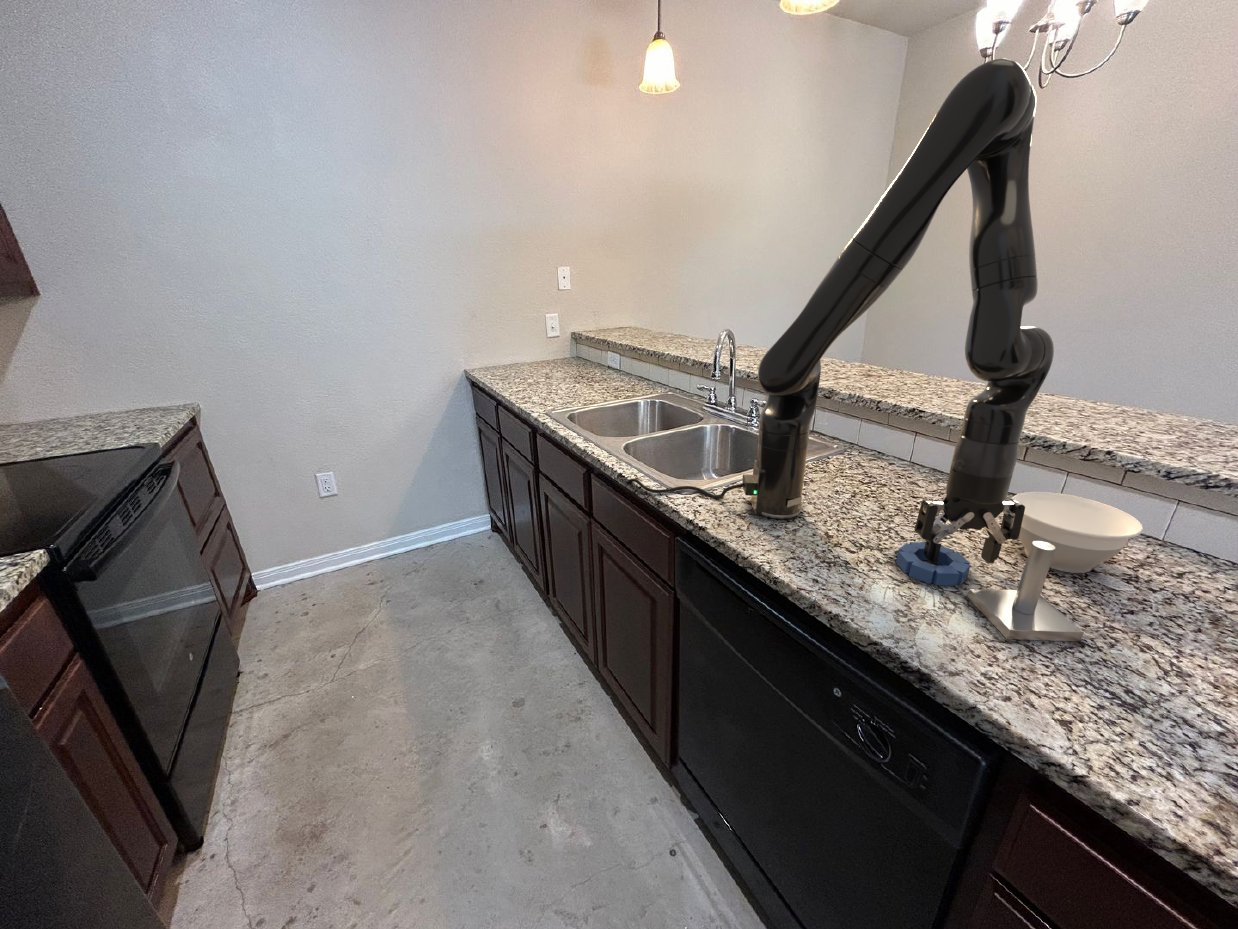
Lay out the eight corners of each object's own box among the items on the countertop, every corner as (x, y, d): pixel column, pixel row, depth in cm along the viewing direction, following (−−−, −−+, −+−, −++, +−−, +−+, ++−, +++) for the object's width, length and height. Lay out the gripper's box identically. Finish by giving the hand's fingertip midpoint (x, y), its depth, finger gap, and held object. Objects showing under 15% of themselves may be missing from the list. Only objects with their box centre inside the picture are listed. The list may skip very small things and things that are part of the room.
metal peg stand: (1006, 639, 65) (1031, 563, 61) (967, 597, 73) (986, 528, 69) (1080, 641, 64) (1110, 565, 60) (1032, 598, 72) (1055, 529, 68)
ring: (914, 585, 76) (916, 572, 75) (888, 552, 85) (890, 541, 84) (978, 586, 76) (982, 574, 75) (945, 553, 84) (948, 542, 83)
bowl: (1008, 525, 93) (1020, 483, 90) (1126, 557, 82) (1145, 510, 79) (988, 559, 82) (1001, 513, 79) (1120, 600, 72) (1142, 548, 69)
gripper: (1015, 457, 77) (990, 549, 82) (919, 457, 78) (901, 548, 83) (1051, 475, 70) (1021, 574, 75) (945, 475, 71) (924, 573, 76)
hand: (958, 560), depth 79 cm, fingers open, 8 cm apart
